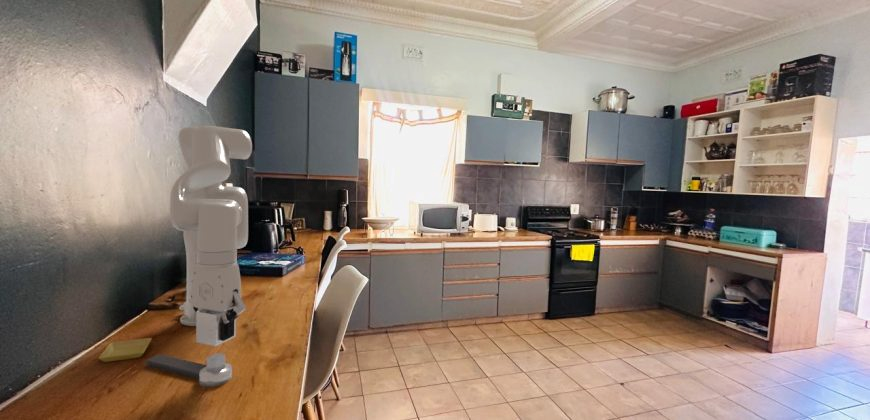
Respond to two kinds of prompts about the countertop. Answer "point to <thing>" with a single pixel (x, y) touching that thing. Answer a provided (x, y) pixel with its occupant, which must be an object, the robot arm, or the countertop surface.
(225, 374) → the ratchet
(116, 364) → the countertop surface
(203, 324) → the white block
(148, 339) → the flat yellow-green tile
